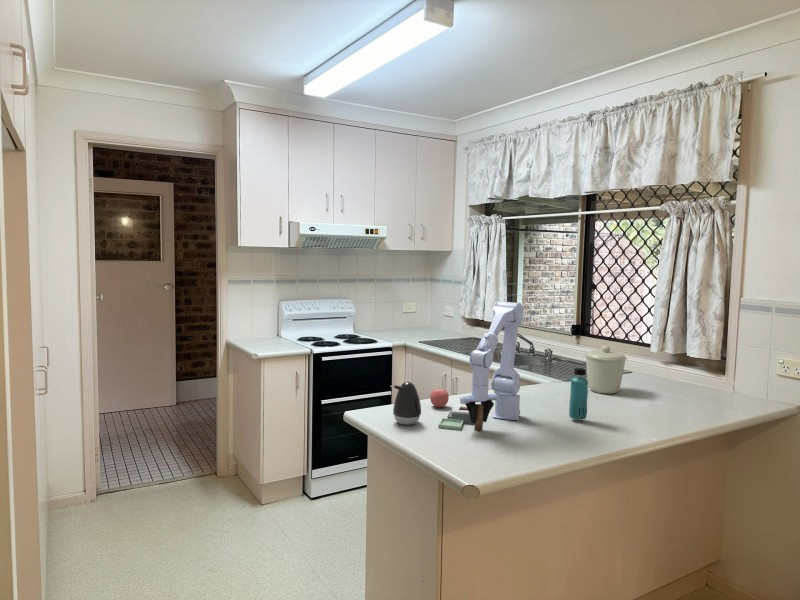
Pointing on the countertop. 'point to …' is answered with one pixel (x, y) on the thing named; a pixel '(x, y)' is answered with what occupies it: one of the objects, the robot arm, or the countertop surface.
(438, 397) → the apple
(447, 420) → the rest tray
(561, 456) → the countertop surface
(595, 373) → the canister
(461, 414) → the box
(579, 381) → the beverage bottle
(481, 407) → the brown wooden cylinder
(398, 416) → the pump dispenser
